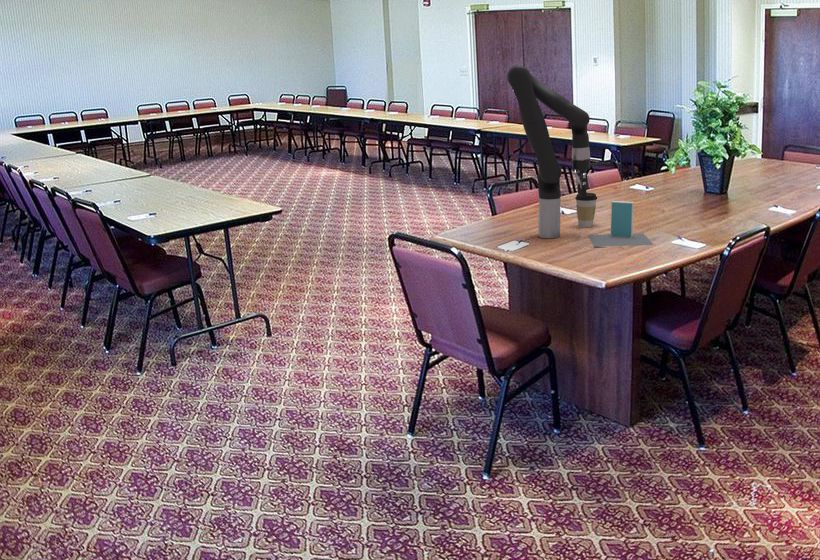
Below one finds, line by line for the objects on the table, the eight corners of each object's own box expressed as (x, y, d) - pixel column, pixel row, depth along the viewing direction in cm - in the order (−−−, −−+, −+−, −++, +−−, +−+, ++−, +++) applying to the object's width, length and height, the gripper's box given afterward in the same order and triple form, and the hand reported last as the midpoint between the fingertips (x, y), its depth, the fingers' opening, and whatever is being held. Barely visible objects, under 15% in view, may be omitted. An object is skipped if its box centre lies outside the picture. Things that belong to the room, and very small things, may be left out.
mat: (594, 247, 319) (594, 246, 319) (587, 236, 338) (587, 234, 338) (653, 246, 317) (653, 244, 317) (643, 234, 336) (643, 233, 336)
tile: (611, 234, 336) (612, 200, 332) (632, 236, 332) (634, 201, 327) (610, 236, 334) (611, 201, 330) (631, 237, 330) (632, 202, 325)
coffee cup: (600, 226, 355) (601, 193, 351) (588, 230, 348) (589, 197, 344) (582, 223, 362) (583, 191, 357) (570, 227, 355) (570, 195, 351)
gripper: (569, 156, 337) (570, 193, 342) (574, 160, 324) (576, 199, 328) (586, 155, 337) (587, 191, 341) (593, 159, 323) (593, 197, 328)
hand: (582, 195), depth 335 cm, fingers open, 8 cm apart
